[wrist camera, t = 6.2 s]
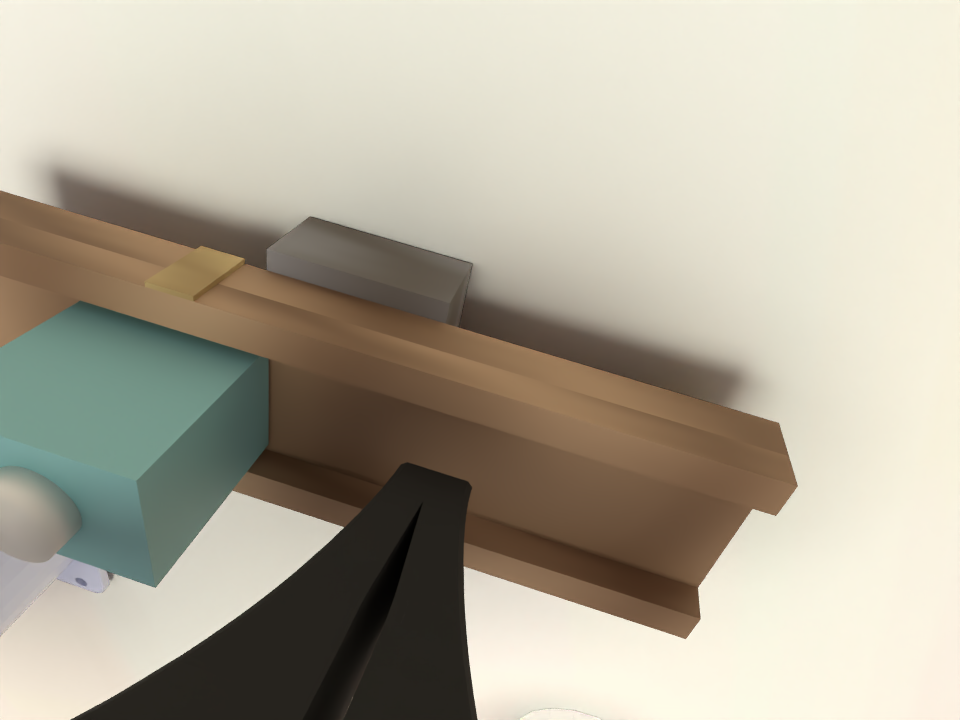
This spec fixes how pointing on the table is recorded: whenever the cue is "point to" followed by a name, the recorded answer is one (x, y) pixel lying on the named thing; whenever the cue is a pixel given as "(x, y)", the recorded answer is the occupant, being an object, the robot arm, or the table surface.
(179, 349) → the rider
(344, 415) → the beam
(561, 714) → the beverage cup
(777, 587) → the table surface
